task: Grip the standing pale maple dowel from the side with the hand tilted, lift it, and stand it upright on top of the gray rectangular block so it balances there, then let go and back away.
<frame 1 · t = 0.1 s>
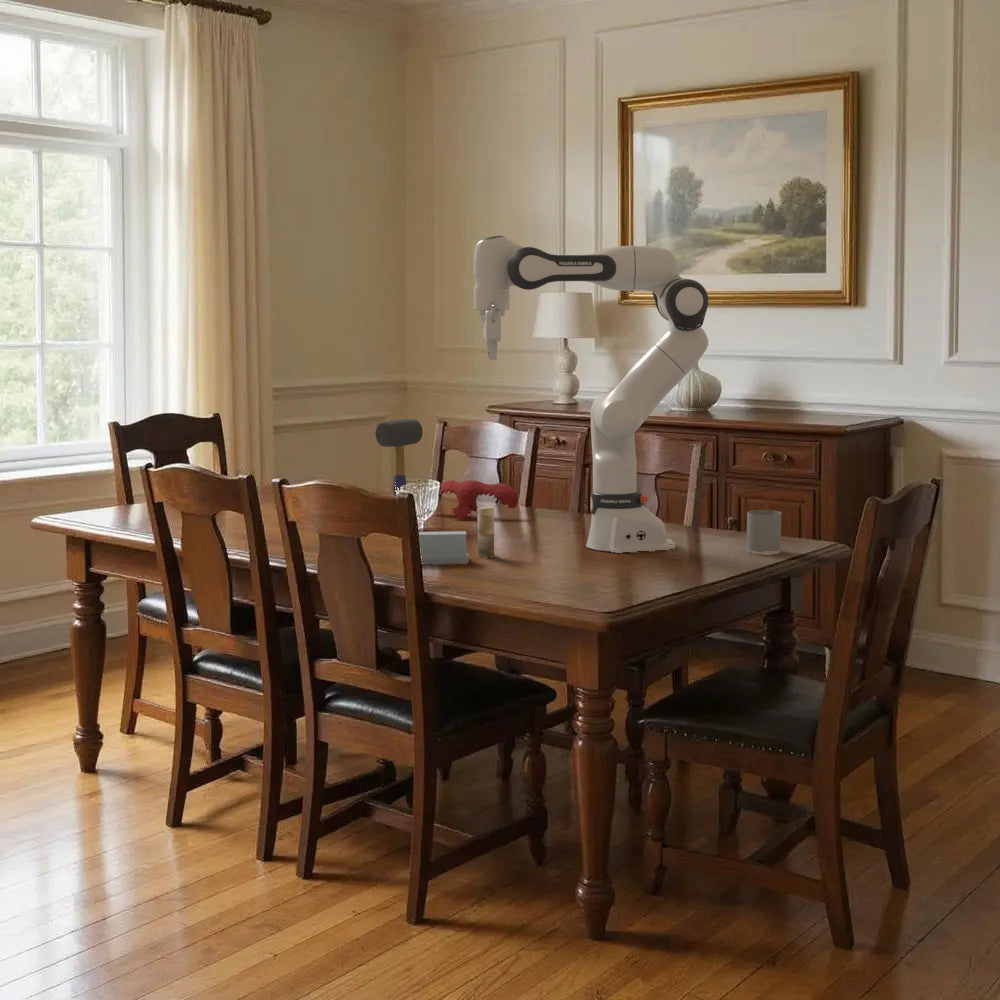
hand: (492, 359, 346), 48 cm above the table, tool pointing down, fingers open, 8 cm apart
gray rectangular block: (437, 561, 336), on the table
rubber mallet: (400, 527, 386), on the table
dowel: (486, 556, 343), on the table
red irregular arched piece: (469, 518, 402), on the table
cup: (763, 553, 346), on the table
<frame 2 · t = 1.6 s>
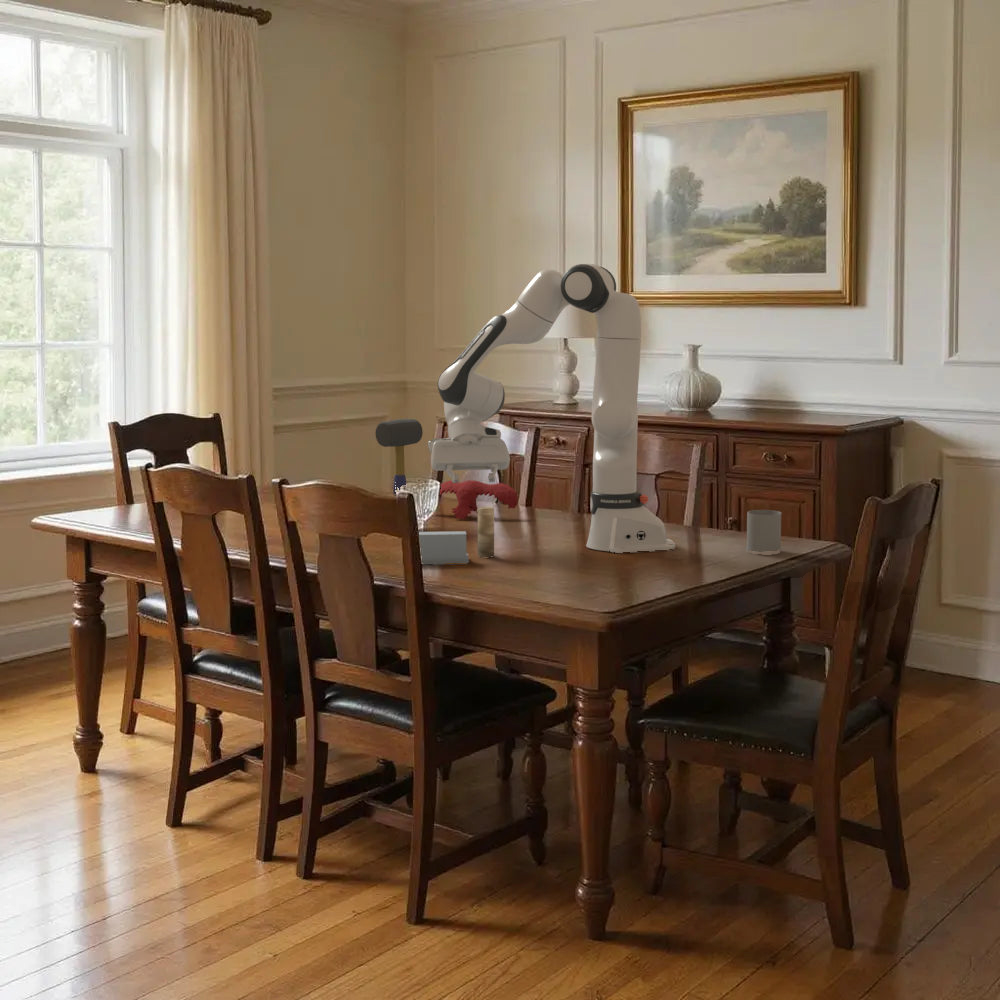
hand: (474, 481, 352), 17 cm above the table, tool tilted 45°, fingers open, 8 cm apart
nothing on the table moved.
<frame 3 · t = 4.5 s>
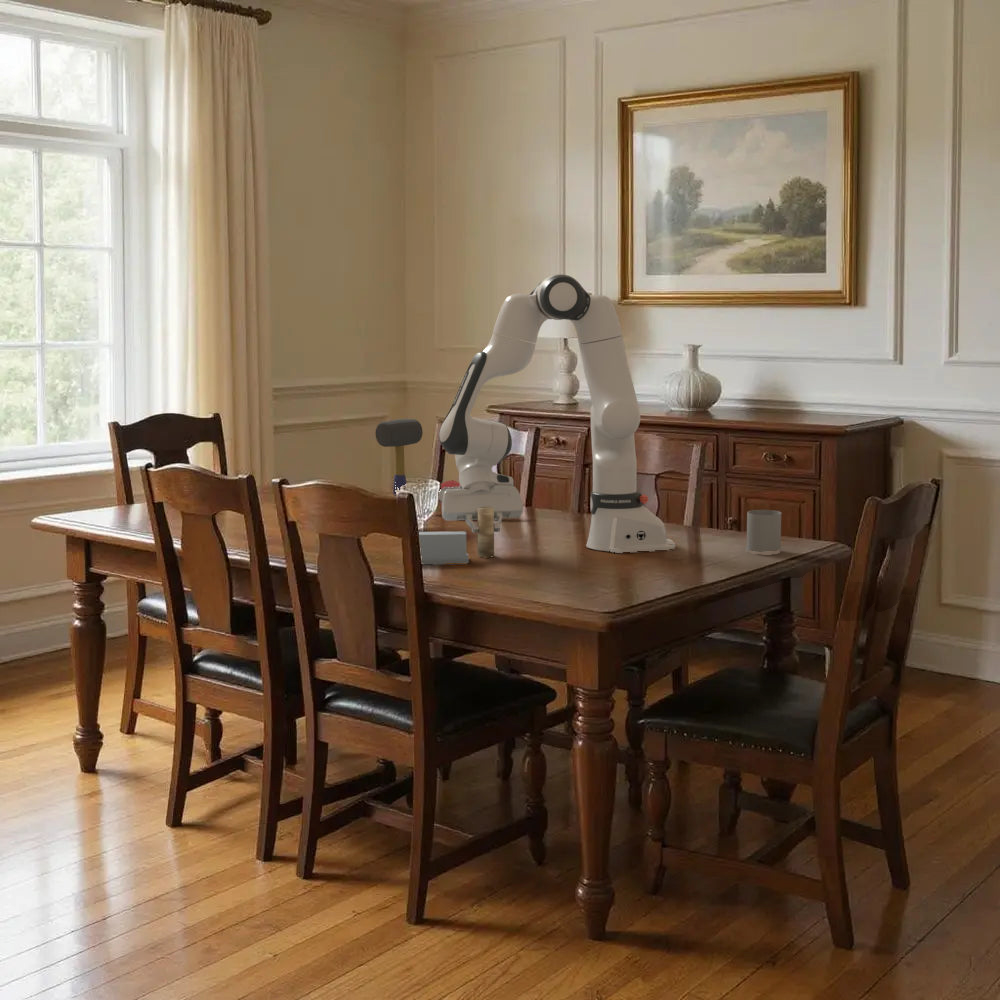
hand: (486, 531, 341), 6 cm above the table, tool tilted 45°, fingers closed on dowel, 4 cm apart
dowel: (486, 556, 343), on the table, touching gripper
everything else where it was.
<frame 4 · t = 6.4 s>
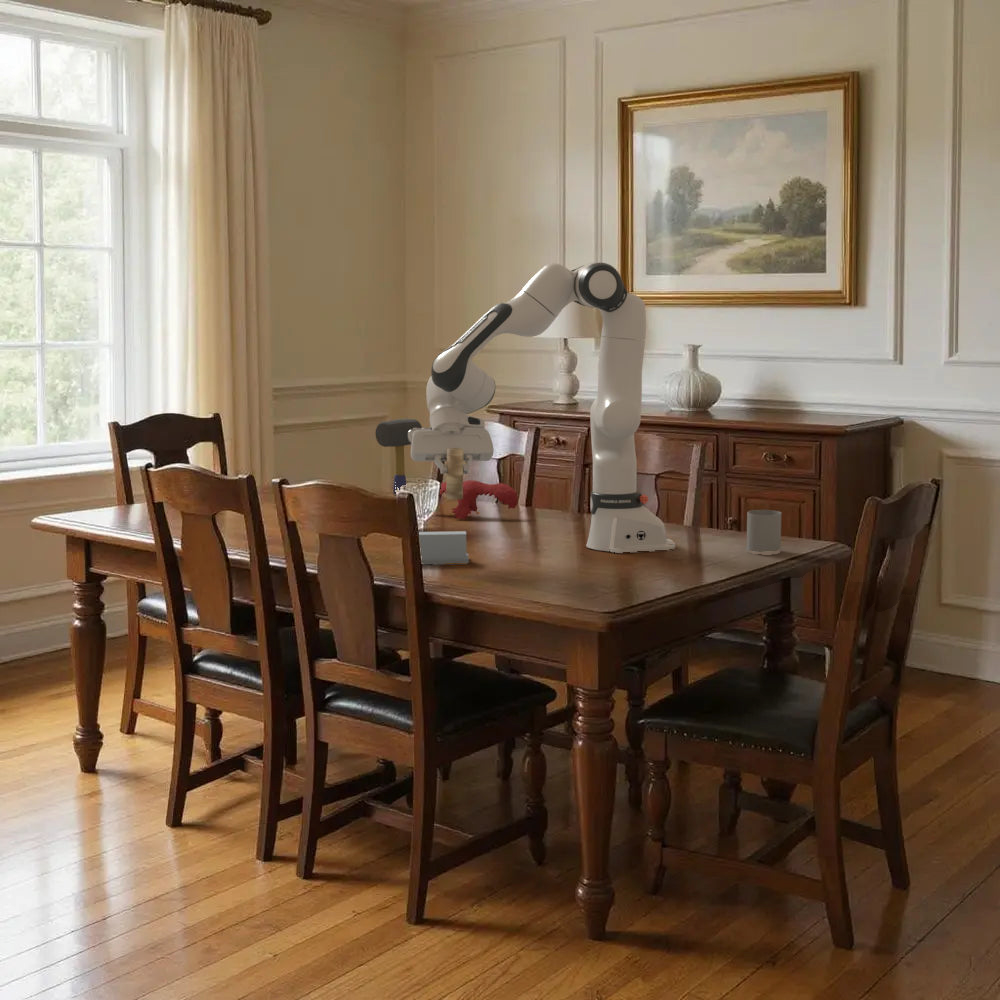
hand: (455, 472, 336), 21 cm above the table, tool tilted 45°, fingers closed on dowel, 4 cm apart
dowel: (454, 498, 337), point 15 cm above the table, touching gripper
everything else where it was.
when the fingers open (14 cm above the table, at t = 8.5 s): dowel stays where it is, resting on gray rectangular block.
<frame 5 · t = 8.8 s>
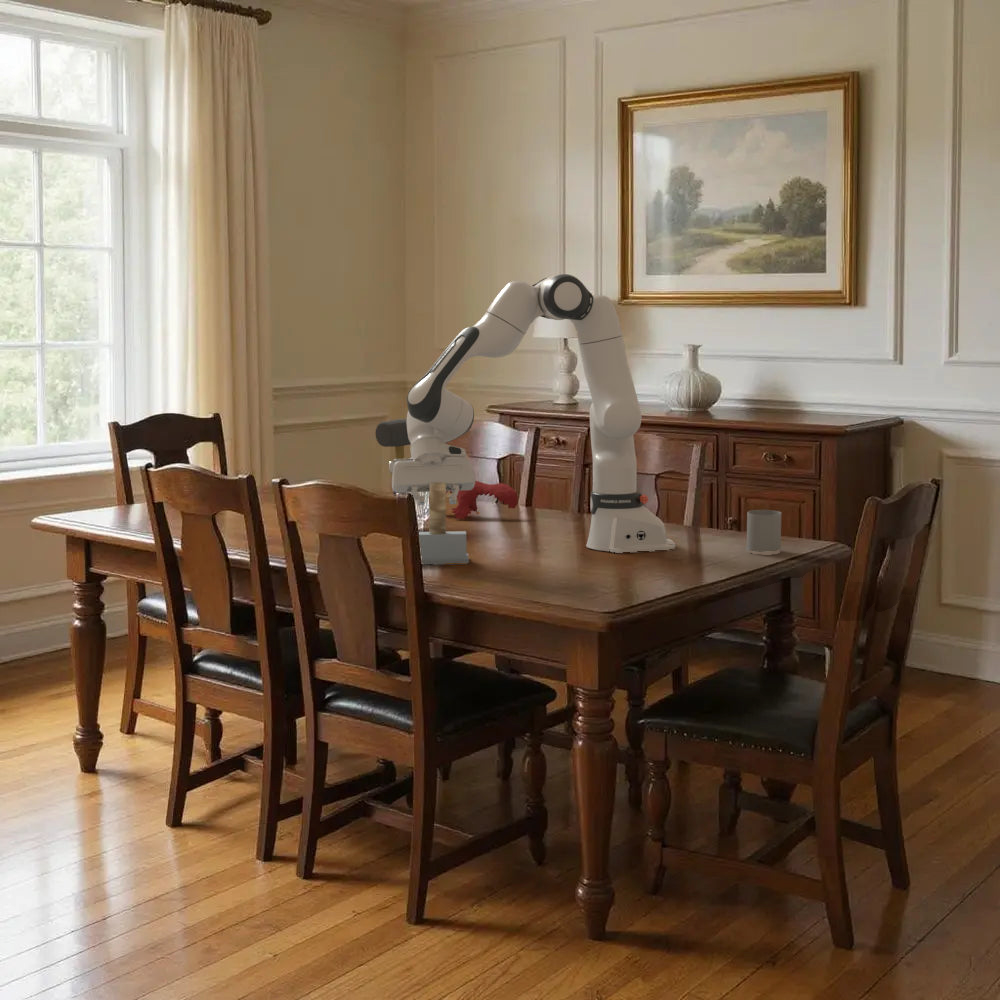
hand: (437, 503, 334), 14 cm above the table, tool tilted 45°, fingers open, 6 cm apart
dowel: (437, 532, 335), point 7 cm above the table, touching gray rectangular block
everything else where it was.
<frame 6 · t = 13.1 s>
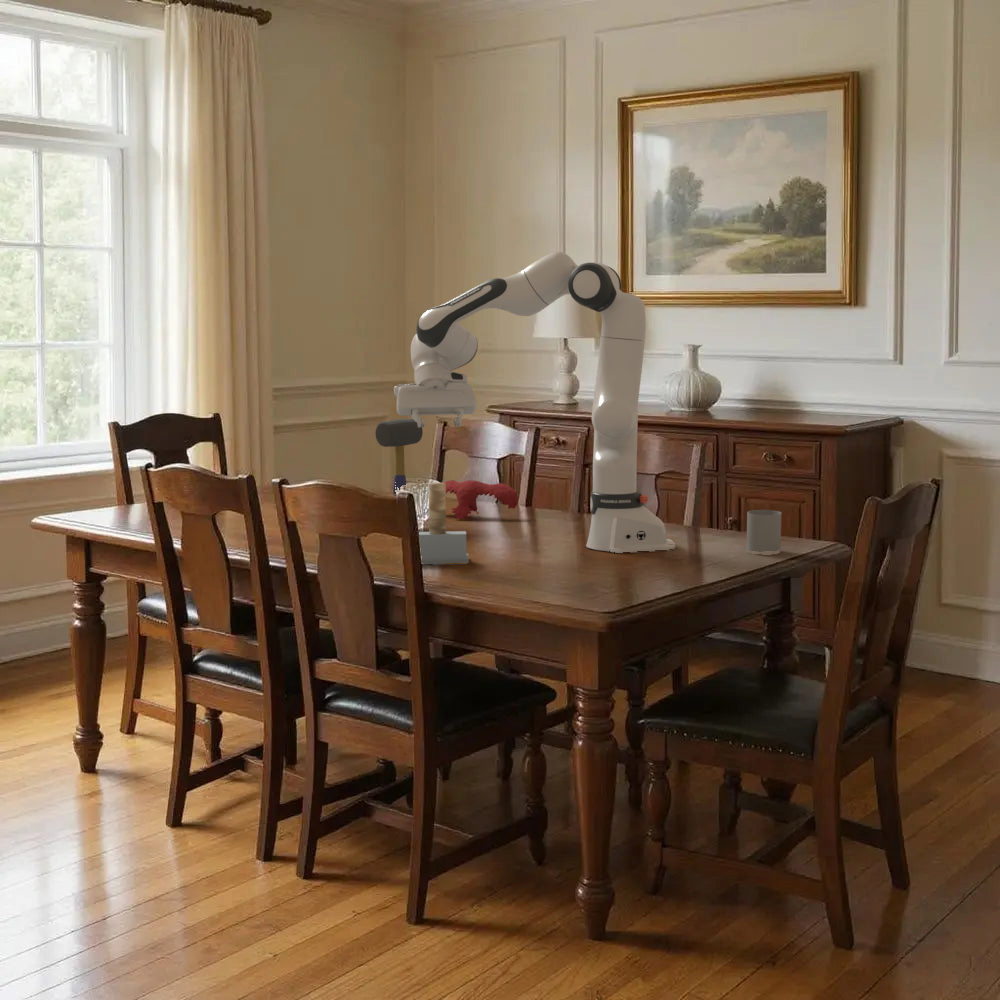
hand: (439, 425, 349), 31 cm above the table, tool tilted 45°, fingers open, 8 cm apart
nothing on the table moved.
at the end: dowel inside the target area on the gray rectangular block (0.1 cm from its centre), point 7.0 cm above the gray rectangular block's base; dowel tilted 0°; the gripper is holding nothing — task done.
